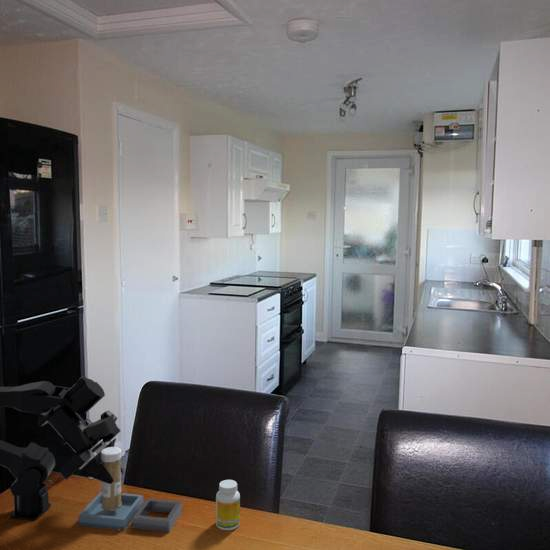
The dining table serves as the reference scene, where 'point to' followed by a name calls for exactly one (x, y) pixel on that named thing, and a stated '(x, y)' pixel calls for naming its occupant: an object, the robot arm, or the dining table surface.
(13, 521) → the dining table surface
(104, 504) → the sprinkles bottle
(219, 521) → the supplement bottle
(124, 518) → the tray
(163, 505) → the bottle holder
